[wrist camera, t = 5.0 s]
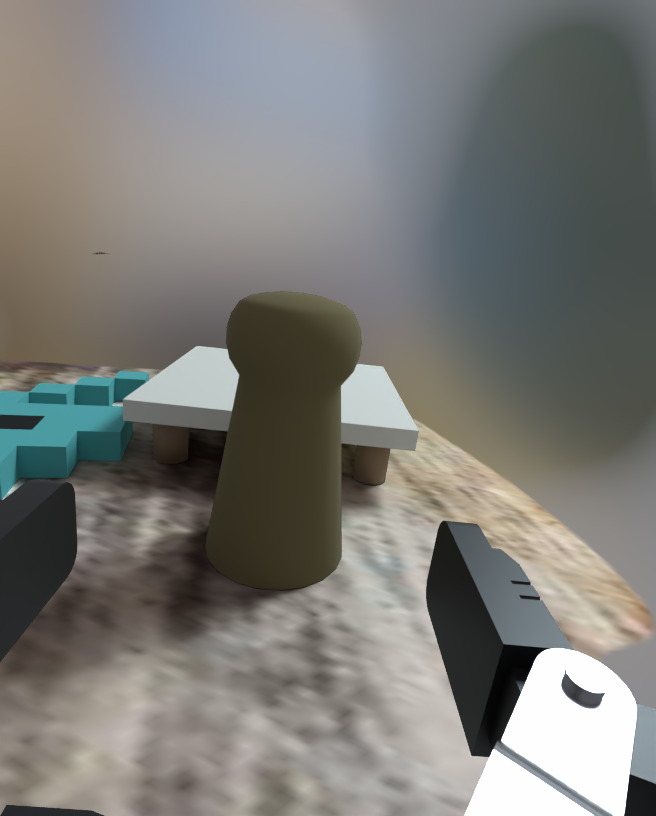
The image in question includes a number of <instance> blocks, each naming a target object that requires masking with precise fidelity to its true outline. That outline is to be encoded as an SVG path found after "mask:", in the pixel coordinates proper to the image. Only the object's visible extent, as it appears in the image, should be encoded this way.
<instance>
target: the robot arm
mask: <svg viewBox="0 0 656 816" xmlns="http://www.w3.org/2000/svg"><path fill="white" fill-rule="evenodd" d="M76 554H77V528H76V506H75V491H74V488H73V486H72V484H70V483H68V482H58V481H48V480H38V479H31V480H29V481H27V482H26V483H25V484H23V485H22V486H21V487H19V488H18V489H17V490H16V491H14V492H13V493H12V494H10V495H9V496H8V497H6V498H5V499H4V500H0V662H1V661H2V659H3V658H4V657H5V655H6V654H7V653H8V652H9V650H10V649H11V648H12V647H13V645H14V644H15V643H16V642H17V640H18V639H19V638H20V636H21V635H22V634H23V633H24V631H25V630H26V629H27V628H28V626H29V625H30V624H31V622H32V621H33V620H34V619H35V617H36V616H37V615H38V614H39V612H40V611H41V610H42V609H43V607H44V606H45V605H46V603H47V602H48V601H49V600H50V598H51V597H52V596H53V595H54V593H55V592H56V591H57V589H58V588H59V587H60V586H61V584H62V583H63V582H64V581H65V579H66V578H67V577H68V575H69V574H70V572H71V570H72V568H73V565H74V562H75V559H76ZM426 600H427V608H428V612H429V615H430V618H431V622H432V625H433V628H434V632H435V635H436V638H437V642H438V645H439V649H440V652H441V655H442V659H443V662H444V665H445V669H446V672H447V675H448V679H449V682H450V685H451V689H452V692H453V695H454V699H455V702H456V705H457V709H458V712H459V715H460V719H461V722H462V725H463V729H464V732H465V735H466V739H467V742H468V745H469V749H470V752H471V756H482V757H490V758H489V761H488V763H487V765H486V767H485V770H484V772H483V774H482V777H481V779H480V781H479V784H478V786H477V788H476V791H475V793H474V795H473V797H472V800H471V802H470V804H469V807H468V809H467V811H466V814H465V816H656V709H653V708H650V707H647V706H644V705H642V704H639V703H637V702H635V700H634V698H633V696H632V694H631V692H630V691H629V689H628V688H627V686H626V685H625V684H624V683H623V682H622V681H621V680H620V679H619V678H618V677H617V676H616V675H615V674H614V673H613V672H612V671H610V670H609V669H608V668H607V667H605V666H604V665H602V664H601V663H599V662H598V661H596V660H594V659H592V658H590V657H588V656H586V655H584V654H581V653H578V652H576V651H574V650H573V648H572V647H571V645H570V643H569V642H568V640H567V639H566V637H565V636H564V634H563V632H562V631H561V629H560V628H559V626H558V625H557V623H556V622H555V620H554V618H553V617H552V615H551V614H550V612H549V611H548V609H547V607H546V606H545V604H544V603H543V601H540V596H539V595H538V593H537V592H536V590H535V589H534V587H533V586H531V585H530V581H529V579H528V578H527V576H526V574H525V573H524V571H523V570H522V568H521V567H520V565H519V564H518V563H517V562H515V561H514V560H513V559H512V558H511V557H509V556H508V555H507V554H506V553H505V552H503V551H502V550H501V549H494V548H491V546H490V544H489V543H488V541H487V539H486V537H485V536H484V534H483V532H482V530H481V529H480V527H479V526H478V525H477V524H472V523H461V522H451V521H442V522H441V524H440V526H439V529H438V532H437V537H436V542H435V546H434V551H433V556H432V560H431V565H430V570H429V574H428V579H427V587H426ZM1 816H104V815H101V814H99V813H96V812H94V811H89V810H74V809H60V808H45V807H30V806H15V805H6V807H5V809H4V810H3V812H2V814H1Z"/></svg>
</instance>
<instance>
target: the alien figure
mask: <svg viewBox="0 0 656 816" xmlns="http://www.w3.org/2000/svg"><path fill="white" fill-rule="evenodd" d="M148 381H149V373H146V372H128V371H119V372H118V374H117V375H116V377H115V378H100V377H82V378H81V379H80V380H79V381H78V382H77V383H76V384H75V385H72V384H51V383H40V384H38V385H37V386H36V387H35V388H33V389H32V390H31V391H30V392H14V391H0V499H3V497H4V496H5V495H6V494H7V493H8V491H9V490H10V489H11V488H12V486H13V485H14V484H15V483H16V482H17V480H18V479H19V478H68V477H69V475H70V473H71V472H72V470H73V468H74V467H75V465H76V463H77V462H78V460H105V461H121V459H122V457H123V454H124V452H125V449H126V447H127V445H128V442H129V440H130V437H131V435H132V421H123V407H118V406H112V404H113V403H114V401H123V399H124V398H125V397H127V396H128V395H129V394H131V393H132V392H134V391H135V390H136V389H138V388H139V387H141V386H142V385H143V384H145V383H146V382H148Z"/></svg>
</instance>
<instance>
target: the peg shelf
mask: <svg viewBox="0 0 656 816" xmlns="http://www.w3.org/2000/svg"><path fill="white" fill-rule="evenodd" d="M238 379H239V374H238V372H237V370H236V369H235V367H234V365H233V364H232V362H231V360H230V359H229V354H228V349H220V348H210V347H202V346H196V347H195V348H194V349H192V350H191V351H189V352H188V353H187V354H185V355H184V356H182V357H181V358H180V359H179V360H177V361H176V362H174V363H173V364H172V365H170V366H168V367H167V368H166V369H164V370H163V371H162V372H160V373H159V374H157V375H156V376H155V377H153V378H152V379H150V380H149V381H148V382H146V383H145V384H143V385H142V386H141V387H139V388H138V389H136V390H135V391H134V392H132V393H131V394H129V395H128V396H127V397H125V398H124V399H123V421H133V422H143V423H152V424H153V459H154V460H155V461H156V462H158V463H162V464H177V463H181V462H184V461H186V460H187V459H188V440H189V427H190V428H200V429H209V430H219V431H228V428H229V423H230V418H231V414H232V409H233V404H234V399H235V394H236V389H237V384H238ZM418 432H419V430H418V429H417V427H416V425H415V423H414V421H413V420H412V418H411V416H410V414H409V412H408V411H407V409H406V407H405V405H404V403H403V402H402V400H401V398H400V396H399V395H398V393H397V391H396V389H395V387H394V386H393V384H392V382H391V380H390V378H389V377H388V375H387V373H386V371H385V369H384V368H383V367H380V366H371V365H362V364H357V365H356V367H355V370H354V372H353V373H352V374H351V375H350V377H349V378H348V379H347V380H346V381H345V382H344V383H343V384H342V385H341V443H343V444H353V445H357V448H356V455H355V462H354V469H353V478H354V479H355V480H357V481H359V482H361V483H364V484H369V485H378V484H382V483H384V482H385V478H386V472H387V466H388V460H389V454H390V448H391V449H400V450H410V451H415V448H416V443H417V437H418Z"/></svg>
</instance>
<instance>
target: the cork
mask: <svg viewBox="0 0 656 816" xmlns="http://www.w3.org/2000/svg"><path fill="white" fill-rule="evenodd" d="M226 344H227V349H228V354H229V359H230V360H231V362H232V364H233V365H234V367H235V369H236V370H237V372H238V374H239V379H238V384H237V389H236V394H235V399H234V404H233V409H232V414H231V418H230V423H229V428H228V433H227V438H226V443H225V448H224V453H223V458H222V463H221V468H220V473H219V478H218V483H217V488H216V493H215V498H214V503H213V508H212V513H211V518H210V523H209V528H208V533H207V538H206V543H205V548H206V553H207V558H208V560H209V561H210V562H211V564H212V565H213V566H214V567H215V569H216V570H217V571H218V572H220V573H221V574H223V575H225V576H226V577H228V578H229V579H231V580H233V581H234V582H237V583H241V584H244V585H247V586H250V587H254V588H259V589H271V590H287V589H294V588H302V587H306V586H308V585H311V584H314V583H316V582H319V581H321V580H323V579H325V578H326V577H327V576H328V575H329V574H331V573H332V572H333V571H334V570H335V569H336V568H337V566H338V564H339V561H340V559H341V557H342V534H341V385H342V384H343V383H344V382H345V381H346V380H347V379H348V378H349V377H350V375H351V374H352V373H353V372H354V370H355V367H356V365H357V362H358V360H359V357H360V350H361V345H362V340H361V330H360V326H359V323H358V321H357V319H356V316H355V314H354V313H353V312H352V311H351V310H350V309H349V308H348V307H347V306H345V305H342V304H340V303H337V302H335V301H332V300H330V299H327V298H324V297H321V296H317V295H312V294H306V293H298V292H286V291H278V292H265V293H259V294H253V295H250V296H248V297H246V298H244V299H242V300H240V301H239V302H238V304H237V305H236V307H235V308H234V310H233V311H232V313H231V315H230V318H229V322H228V325H227V334H226Z"/></svg>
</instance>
